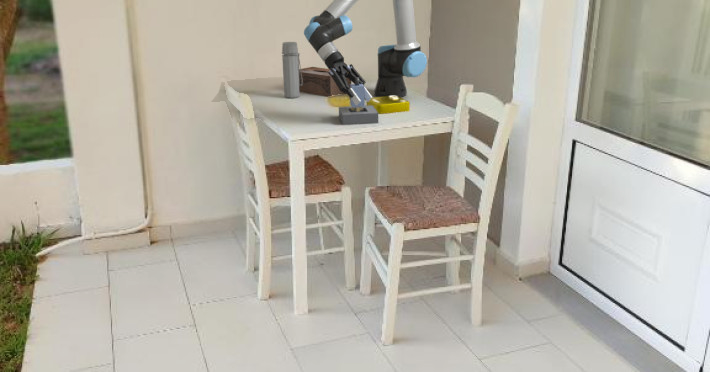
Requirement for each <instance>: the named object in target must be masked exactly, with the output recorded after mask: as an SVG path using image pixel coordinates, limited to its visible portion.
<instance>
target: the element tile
mask: <svg viewBox="0 0 710 372" xmlns="http://www.w3.org/2000/svg"><path fill="white" fill-rule="evenodd" d="M410 104H411V102H410V100H407V99H406V98H403V97H398V96H395V95H393V96H385V97H378V96H376V97H375V96H373V98H372V99H371V100H370V101H369V102H367V101H366V106H370V105H372V106H373V107H374V108H375V109H376V111H377V112H378V115H386V114H395V113H396V112H397V113H404V112H405V111H406V112H410V111H411V110H410V109H411V108H410V107H411V105H410Z"/></svg>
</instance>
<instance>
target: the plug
mask: <svg viewBox="0 0 710 372" xmlns="http://www.w3.org/2000/svg"><path fill="white" fill-rule="evenodd" d="M364 86H365V84H364V85H363V84H359V77H356V78H355V84H354V83H351V84H350V88H352V89H353V91H354V92H355V93H356V95H357V96H358V97H359V99H360V100H361V102H360V103H359V104H358V105H355V103H354V102H353V101H352V99H351V98H350V97H349V105H350V106H351V110H355V107H356V111H357V112H358V111H360V110H363V107H364V106H365V98H364Z"/></svg>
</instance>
